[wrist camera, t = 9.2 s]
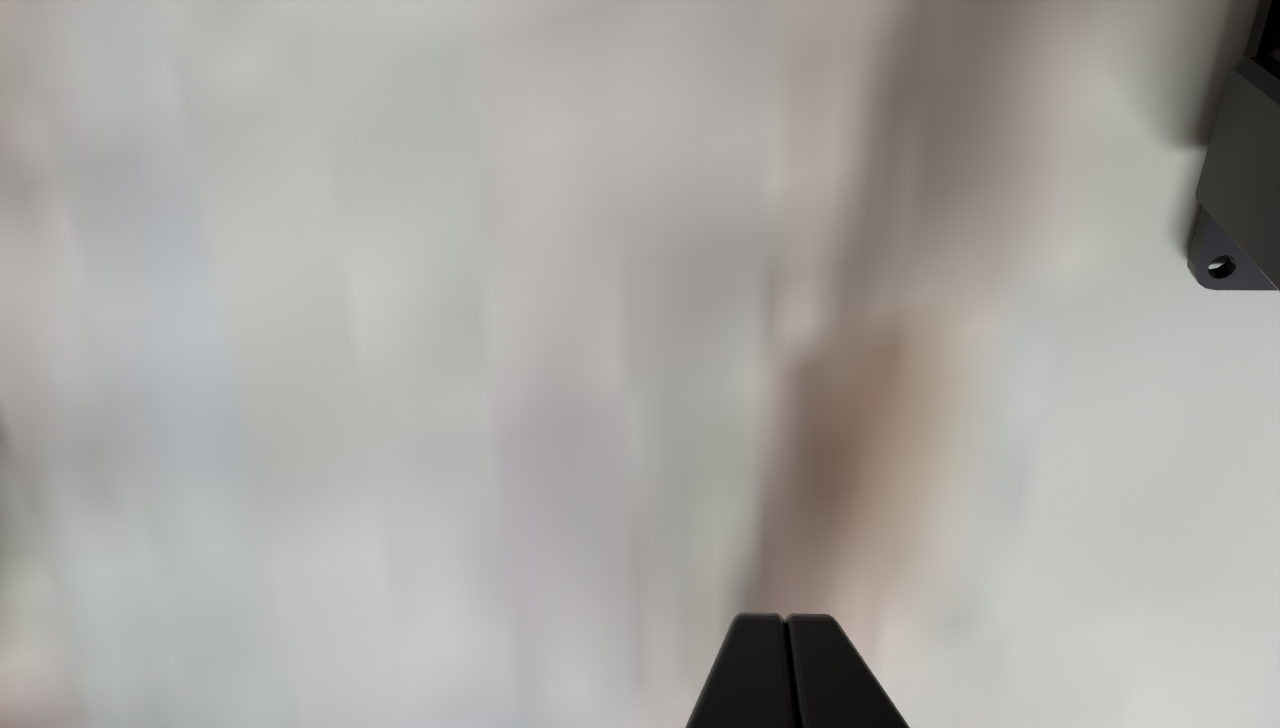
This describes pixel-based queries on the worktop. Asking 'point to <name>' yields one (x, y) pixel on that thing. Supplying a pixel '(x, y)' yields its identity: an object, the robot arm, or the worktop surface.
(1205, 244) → the robot arm
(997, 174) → the worktop surface
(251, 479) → the worktop surface
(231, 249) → the worktop surface
